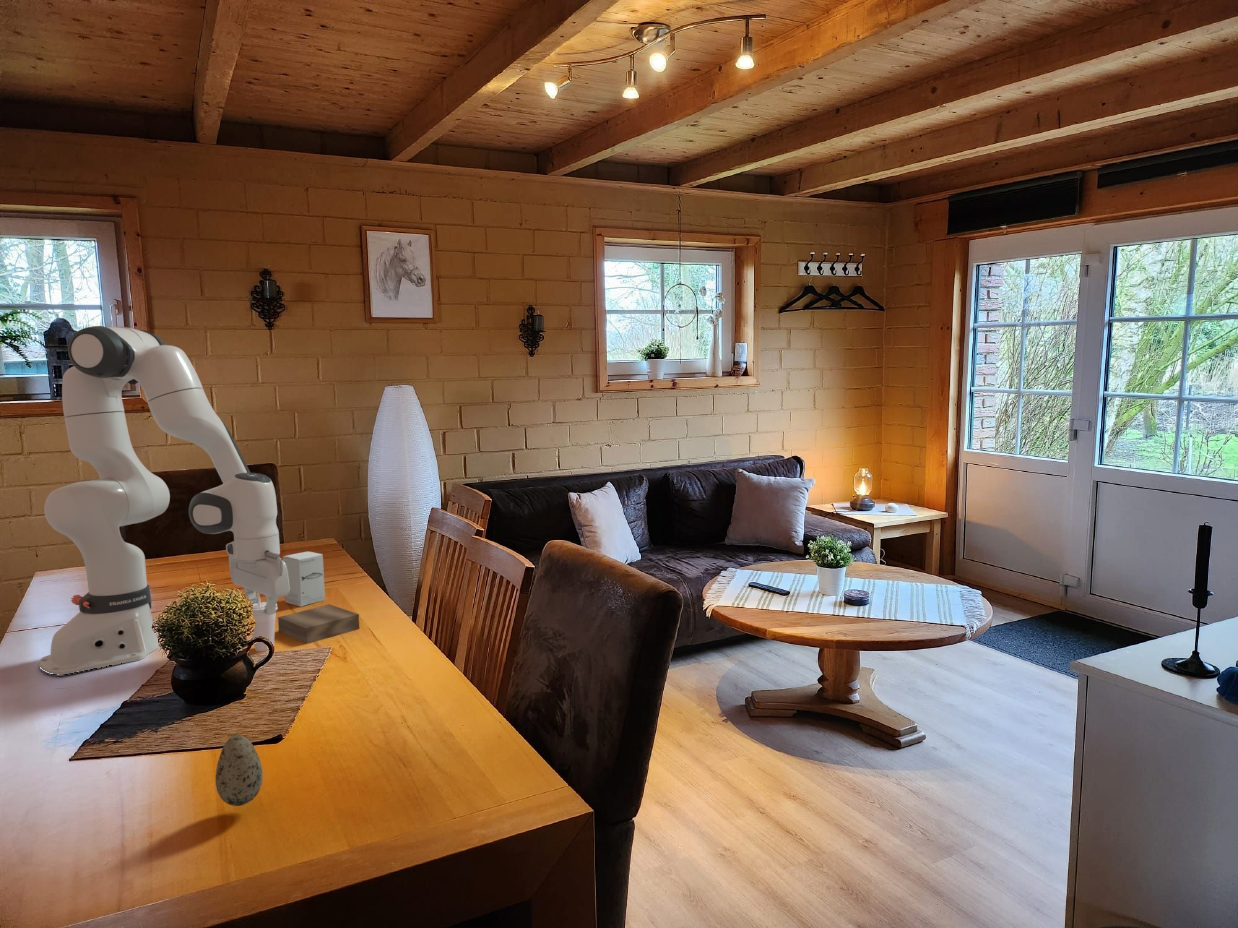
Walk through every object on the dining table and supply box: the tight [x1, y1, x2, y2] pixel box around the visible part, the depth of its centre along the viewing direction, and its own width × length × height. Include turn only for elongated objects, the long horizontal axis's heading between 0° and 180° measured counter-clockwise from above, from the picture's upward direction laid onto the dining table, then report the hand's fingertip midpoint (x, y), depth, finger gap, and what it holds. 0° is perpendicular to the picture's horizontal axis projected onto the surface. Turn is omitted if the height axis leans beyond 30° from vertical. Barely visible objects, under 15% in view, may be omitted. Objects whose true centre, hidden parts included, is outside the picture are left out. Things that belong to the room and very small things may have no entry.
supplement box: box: [282, 551, 326, 608], centre depth 210 cm, size 7×7×13 cm
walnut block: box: [277, 603, 360, 645], centre depth 187 cm, size 13×13×4 cm
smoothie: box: [251, 592, 278, 653], centre depth 175 cm, size 6×6×14 cm
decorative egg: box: [215, 734, 264, 807], centre depth 112 cm, size 6×6×10 cm
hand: (261, 610), depth 175 cm, fingers closed on smoothie, 6 cm apart
